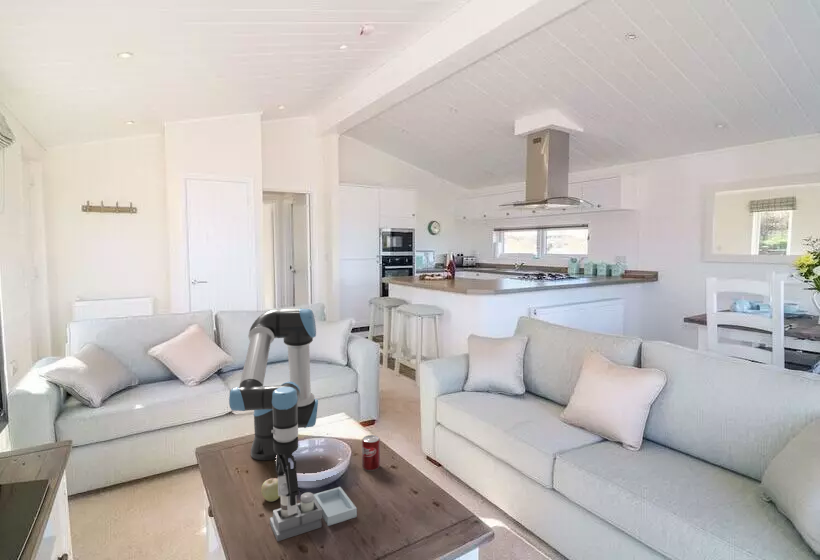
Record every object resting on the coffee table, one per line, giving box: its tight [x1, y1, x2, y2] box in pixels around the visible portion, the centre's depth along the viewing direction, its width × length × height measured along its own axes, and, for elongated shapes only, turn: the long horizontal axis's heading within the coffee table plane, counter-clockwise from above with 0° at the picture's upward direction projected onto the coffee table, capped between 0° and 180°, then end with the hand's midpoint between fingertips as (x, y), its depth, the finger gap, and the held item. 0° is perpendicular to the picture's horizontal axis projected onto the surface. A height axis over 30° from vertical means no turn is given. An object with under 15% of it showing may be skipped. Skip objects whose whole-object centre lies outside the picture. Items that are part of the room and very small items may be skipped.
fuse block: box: [269, 491, 323, 542], centre depth 146 cm, size 10×15×9 cm
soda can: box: [361, 434, 381, 472], centre depth 183 cm, size 7×7×12 cm
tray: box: [313, 486, 358, 527], centre depth 155 cm, size 15×10×3 cm, turn 30°
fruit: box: [260, 477, 281, 503], centre depth 161 cm, size 8×7×8 cm
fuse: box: [280, 483, 294, 520], centre depth 144 cm, size 4×4×12 cm
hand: (287, 503), depth 144 cm, fingers open, 11 cm apart
